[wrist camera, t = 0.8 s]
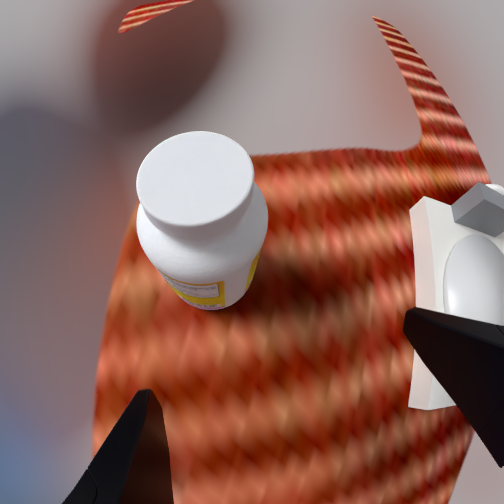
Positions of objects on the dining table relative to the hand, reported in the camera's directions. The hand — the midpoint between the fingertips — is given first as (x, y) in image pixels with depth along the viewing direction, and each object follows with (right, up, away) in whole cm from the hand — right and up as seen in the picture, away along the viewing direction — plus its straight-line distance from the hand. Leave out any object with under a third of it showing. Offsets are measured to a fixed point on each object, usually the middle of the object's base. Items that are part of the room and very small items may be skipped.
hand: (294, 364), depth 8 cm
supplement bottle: (-5, +2, +14) cm, 15 cm away
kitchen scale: (+22, -3, +15) cm, 27 cm away
